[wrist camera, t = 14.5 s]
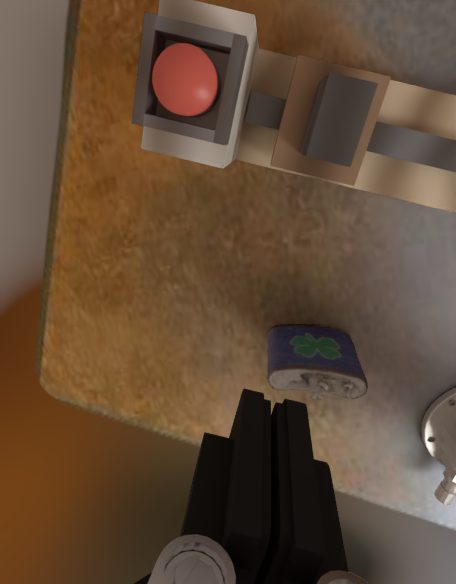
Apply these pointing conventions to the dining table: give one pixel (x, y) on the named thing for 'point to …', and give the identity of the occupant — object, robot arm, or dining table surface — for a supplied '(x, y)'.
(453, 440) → the robot arm
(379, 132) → the rail
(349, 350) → the flask
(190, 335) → the dining table surface
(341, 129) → the carriage
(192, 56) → the red dome button
